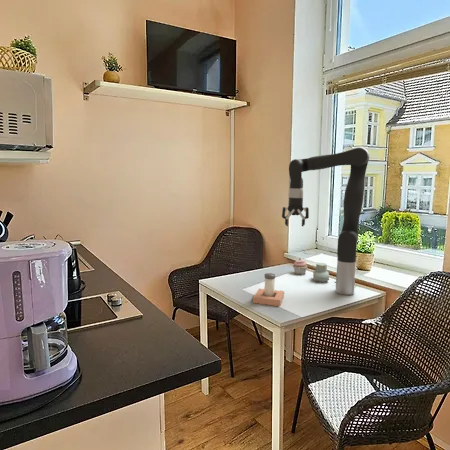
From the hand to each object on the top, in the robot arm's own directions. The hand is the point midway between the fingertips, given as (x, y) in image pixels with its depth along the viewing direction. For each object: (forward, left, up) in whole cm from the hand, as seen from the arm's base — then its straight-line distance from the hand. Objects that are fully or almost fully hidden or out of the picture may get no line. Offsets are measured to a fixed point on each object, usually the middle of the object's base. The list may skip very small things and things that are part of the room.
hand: (294, 226), depth 202 cm
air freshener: (-15, -11, -33) cm, 38 cm away
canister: (+8, +29, -33) cm, 45 cm away
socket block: (+8, +29, -33) cm, 45 cm away
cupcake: (-2, -21, -33) cm, 39 cm away
